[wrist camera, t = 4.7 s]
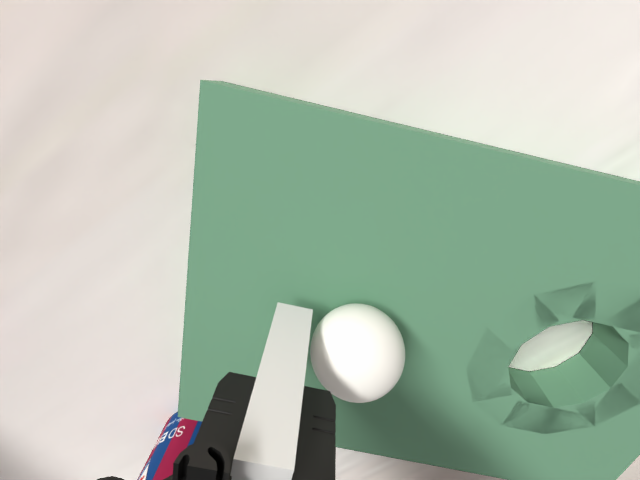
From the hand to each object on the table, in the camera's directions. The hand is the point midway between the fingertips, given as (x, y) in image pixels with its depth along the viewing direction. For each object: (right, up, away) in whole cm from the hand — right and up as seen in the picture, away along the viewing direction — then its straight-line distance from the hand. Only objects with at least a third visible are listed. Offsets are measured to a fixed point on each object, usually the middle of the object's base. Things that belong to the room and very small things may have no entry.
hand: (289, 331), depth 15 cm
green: (+8, 0, +4) cm, 9 cm away
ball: (+1, 0, +1) cm, 2 cm away
